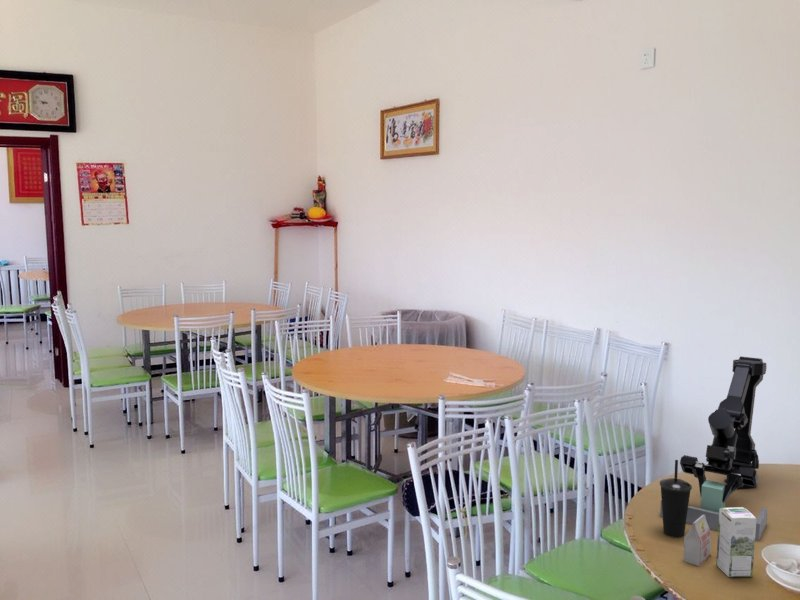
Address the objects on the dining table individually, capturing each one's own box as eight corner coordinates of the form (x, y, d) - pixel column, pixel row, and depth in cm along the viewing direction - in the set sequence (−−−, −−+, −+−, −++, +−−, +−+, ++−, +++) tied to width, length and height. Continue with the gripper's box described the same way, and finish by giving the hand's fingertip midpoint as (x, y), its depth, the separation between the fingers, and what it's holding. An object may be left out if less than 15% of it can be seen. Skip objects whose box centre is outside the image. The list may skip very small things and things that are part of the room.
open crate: (671, 504, 192) (672, 487, 191) (766, 526, 178) (767, 508, 177) (660, 518, 183) (660, 501, 182) (758, 543, 168) (759, 524, 168)
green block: (704, 515, 183) (706, 479, 182) (724, 519, 180) (726, 483, 179) (700, 521, 179) (701, 485, 178) (720, 526, 176) (722, 489, 175)
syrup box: (739, 564, 158) (742, 505, 156) (753, 578, 152) (756, 516, 151) (715, 565, 158) (718, 506, 156) (728, 578, 152) (731, 517, 150)
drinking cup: (651, 531, 175) (653, 457, 173) (673, 526, 178) (676, 453, 176) (673, 544, 168) (676, 467, 166) (696, 538, 171) (699, 462, 169)
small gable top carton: (683, 561, 160) (685, 520, 159) (694, 551, 165) (696, 512, 164) (699, 566, 158) (701, 525, 156) (710, 556, 162) (711, 516, 161)
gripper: (683, 426, 186) (670, 477, 178) (758, 439, 175) (748, 493, 167) (689, 446, 193) (677, 496, 186) (762, 459, 182) (752, 513, 175)
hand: (712, 499), depth 178 cm, fingers closed on green block, 5 cm apart
